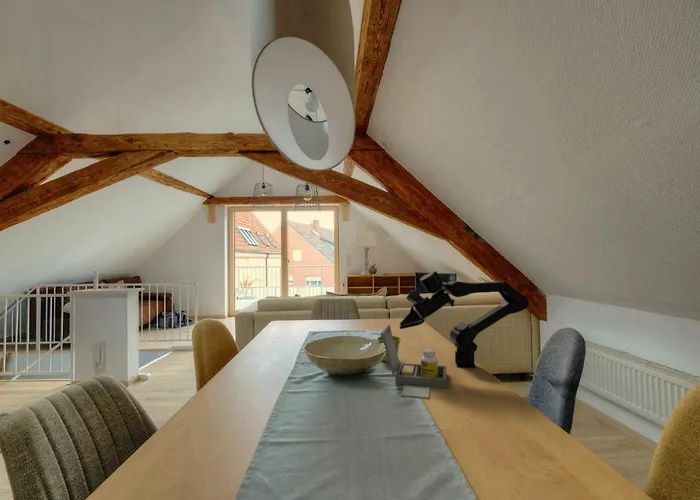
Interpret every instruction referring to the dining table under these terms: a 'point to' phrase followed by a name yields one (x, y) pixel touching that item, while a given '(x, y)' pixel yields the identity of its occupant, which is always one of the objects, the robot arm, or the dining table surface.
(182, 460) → the dining table surface
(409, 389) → the pad
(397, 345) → the plant pot
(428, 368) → the supplement bottle
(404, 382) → the case
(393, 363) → the lid
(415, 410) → the dining table surface
